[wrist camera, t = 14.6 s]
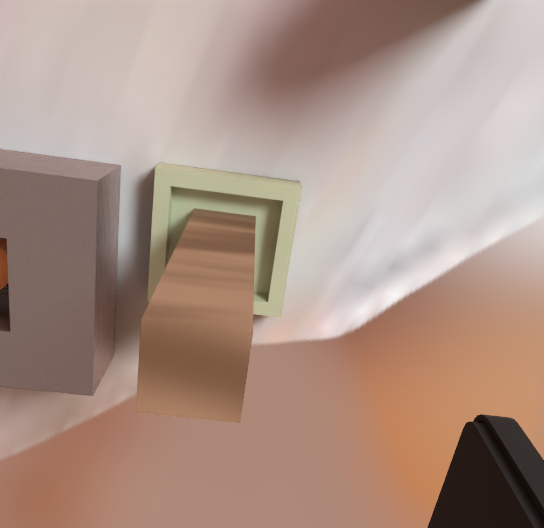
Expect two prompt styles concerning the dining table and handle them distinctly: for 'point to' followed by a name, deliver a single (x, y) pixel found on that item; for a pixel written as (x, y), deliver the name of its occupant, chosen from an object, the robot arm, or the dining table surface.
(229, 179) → the holder tray
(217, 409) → the walnut peg
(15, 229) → the block
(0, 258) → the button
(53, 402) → the dining table surface
